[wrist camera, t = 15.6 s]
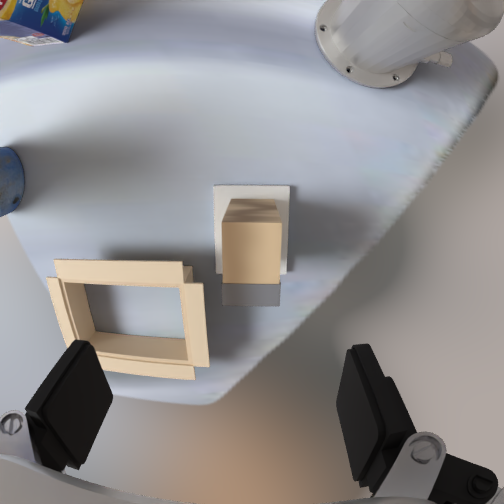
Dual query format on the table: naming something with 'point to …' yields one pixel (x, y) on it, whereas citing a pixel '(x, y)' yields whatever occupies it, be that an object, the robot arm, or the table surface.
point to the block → (251, 253)
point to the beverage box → (38, 20)
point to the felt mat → (250, 192)
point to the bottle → (10, 180)
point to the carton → (131, 346)
